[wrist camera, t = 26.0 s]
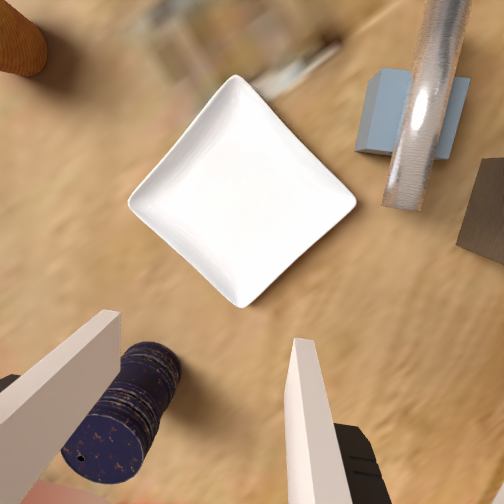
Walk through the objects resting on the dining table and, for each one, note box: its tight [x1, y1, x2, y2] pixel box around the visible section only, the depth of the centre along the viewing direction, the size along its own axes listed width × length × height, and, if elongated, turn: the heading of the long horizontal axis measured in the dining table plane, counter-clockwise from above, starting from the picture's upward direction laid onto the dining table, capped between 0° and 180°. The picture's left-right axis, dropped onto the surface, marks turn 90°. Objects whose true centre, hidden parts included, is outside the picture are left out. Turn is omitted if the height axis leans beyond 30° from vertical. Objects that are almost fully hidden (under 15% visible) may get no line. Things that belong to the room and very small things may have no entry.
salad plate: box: [128, 75, 357, 308], centre depth 40 cm, size 21×21×3 cm
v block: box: [355, 68, 471, 160], centre depth 36 cm, size 8×9×5 cm
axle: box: [381, 0, 473, 211], centre depth 32 cm, size 20×4×4 cm, turn 173°
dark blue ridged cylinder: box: [60, 342, 181, 484], centre depth 42 cm, size 10×10×15 cm
